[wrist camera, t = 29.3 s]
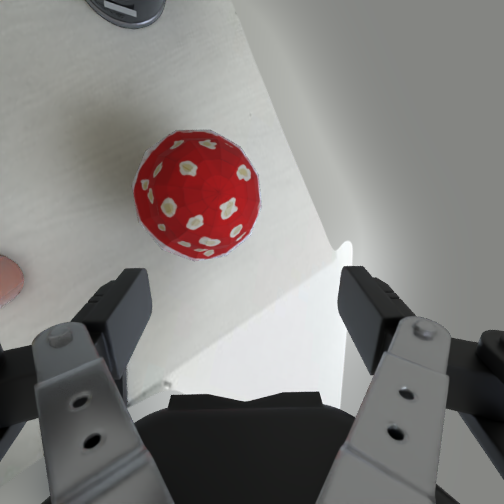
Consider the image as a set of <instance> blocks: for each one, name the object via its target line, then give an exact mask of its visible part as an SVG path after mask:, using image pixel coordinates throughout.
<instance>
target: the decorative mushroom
mask: <svg viewBox="0 0 504 504" xmlns="http://www.w3.org/2000/svg"><path fill="white" fill-rule="evenodd" d="M132 189H133V194H134V200H135V206H136V212H137V218H138V222H139V223H140V224H141V225H142V227H143V228H144V229H145V230H146V231H147V233H148V234H149V235H150V236H151V237H152V238H153V240H154V241H155V242H156V243H157V244H158V246H159V247H160V248H161V249H162V250H165V251H167V252H170V253H173V254H176V255H178V256H181V257H184V258H187V259H189V260H192V261H199V260H205V259H211V258H216V257H222V256H227V255H228V254H229V253H230V252H231V251H233V250H234V249H235V248H236V247H237V246H239V245H240V244H241V243H242V242H243V241H245V240H246V239H247V238H248V237H249V236H250V235H251V233H252V230H253V228H254V225H255V223H256V220H257V218H258V215H259V213H260V210H261V207H262V205H261V195H260V184H259V175H258V173H257V172H256V170H255V169H254V167H253V165H252V164H251V162H250V161H249V159H248V158H247V156H246V154H245V153H244V151H243V150H242V148H241V147H240V146H238V145H237V144H235V143H233V142H231V141H230V140H228V139H226V138H224V137H223V136H221V135H219V134H217V133H216V132H214V131H212V130H175V131H174V132H172V133H171V134H169V135H168V136H166V137H165V138H163V139H162V140H160V141H159V142H157V143H156V144H154V145H153V146H151V147H150V148H148V149H147V150H146V151H145V154H144V156H143V158H142V161H141V163H140V166H139V168H138V171H137V173H136V175H135V178H134V180H133V183H132Z"/></svg>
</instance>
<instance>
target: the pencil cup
mask: <svg viewBox="0 0 504 504" xmlns="http://www.w3.org/2000/svg"><path fill="white" fill-rule="evenodd" d="M23 283H24V277H23V273H22V271H21V269H20V267H19V266H18V265H17V264H16V263H15V262H14V261H12V260H11V259H9V258H7V257H5V256H2V255H0V308H1V307H3V306H4V305H6V304H7V303H8V302H10V301H11V300H12V299H14V298H15V297H16V296H17V295H18V294H19V293H20V291H21V289H22V287H23Z"/></svg>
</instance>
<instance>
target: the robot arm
mask: <svg viewBox="0 0 504 504" xmlns="http://www.w3.org/2000/svg"><path fill="white" fill-rule="evenodd" d="M86 1H87V2H88V4H89V5H90V6H91V7H92V8H93V9H94V10H95V11H96V12H97V13H98V14H99V15H100V16H102V17H103V18H104V19H106V20H107V21H109V22H111V23H113V24H115V25H118V26H121V27H124V28H131V29H136V28H143V27H146V26H148V25H150V24H152V23H153V22H155V21H156V20H157V19H158V18H159V16H160V15H161V13H162V11H163V9H164V6H165V1H166V0H86ZM338 311H339V314H340V316H341V318H342V320H343V322H344V324H345V326H346V328H347V330H348V332H349V334H350V335H351V338H352V340H353V342H354V343H355V346H356V348H357V350H358V352H359V353H360V355H361V357H362V359H363V361H364V363H365V365H366V367H367V369H368V371H369V373H370V375H374V376H373V378H372V381H371V383H370V385H369V388H368V390H367V392H366V395H365V397H364V399H363V402H362V404H361V406H360V408H359V411H358V413H357V416H356V418H355V417H353V416H352V415H350V414H348V413H346V412H344V411H342V410H340V409H337V408H335V407H332V406H328V405H324V404H322V400H321V397H320V393H319V392H283V393H279V394H275V395H271V396H267V397H263V398H259V399H256V400H252V401H246V402H244V401H238V400H234V399H229V398H224V397H219V396H214V395H210V394H192V395H171V398H170V402H169V405H168V408H165V409H162V410H159V411H156V412H154V413H152V414H149V415H147V416H145V417H143V418H142V419H140V420H138V421H137V422H135V423H134V422H133V420H132V418H131V416H130V414H129V412H128V410H127V407H126V405H125V403H124V401H123V399H122V397H121V395H120V392H119V390H118V388H117V386H116V384H115V382H114V380H120V379H121V376H122V374H123V372H124V370H125V368H126V366H127V364H128V362H129V360H130V358H131V356H132V354H133V352H134V350H135V347H136V345H137V343H138V341H139V339H140V337H141V335H142V333H143V331H144V329H145V327H146V325H147V323H148V321H149V318H150V316H151V313H152V298H151V292H150V286H149V280H148V274H147V271H146V269H145V268H126V269H124V270H123V272H122V273H121V274H120V275H119V276H118V278H117V279H116V280H113V281H110V282H108V283H107V284H105V285H103V286H102V287H100V288H99V289H98V291H97V292H96V293H95V294H94V296H93V297H91V299H90V300H89V301H88V303H86V304H85V305H84V307H83V308H82V309H81V310H80V311H79V312H78V313H77V315H76V316H75V317H74V318H73V319H72V320H71V321H70V322H66V323H61V324H58V325H55V326H52V327H50V328H48V329H46V330H44V331H43V332H41V333H40V334H39V335H37V336H36V338H35V339H34V340H33V342H32V345H29V346H25V347H20V348H15V349H11V350H6V351H3V349H2V347H1V344H0V461H1V460H2V458H3V457H4V455H5V454H6V452H7V451H8V449H9V448H10V446H11V445H12V443H13V442H14V440H15V439H16V437H17V436H18V434H19V433H20V431H21V430H22V428H23V427H24V425H25V423H26V422H27V421H29V420H33V419H36V418H39V424H40V430H41V437H42V444H43V450H44V457H45V463H46V470H47V477H48V483H49V490H50V496H49V497H48V498H47V499H46V500H45V501H44V502H43V503H42V504H460V503H459V502H457V501H456V500H455V499H454V498H453V497H451V496H450V495H449V494H448V493H447V492H445V491H444V490H443V489H442V488H441V487H439V486H438V485H437V484H436V479H437V471H438V463H439V456H440V448H441V440H442V432H443V425H444V417H445V409H451V410H455V411H458V413H459V414H460V416H461V417H462V419H463V420H464V422H465V423H466V425H467V426H468V428H469V429H470V431H471V432H472V434H473V435H474V437H475V438H476V439H477V441H478V442H479V444H480V445H481V447H482V448H483V450H484V451H485V453H486V454H487V456H488V457H489V458H490V460H491V461H492V463H493V465H494V466H495V468H496V469H497V470H498V472H499V473H500V475H501V476H502V478H503V479H504V331H499V330H488V331H485V332H483V333H482V335H481V337H480V340H479V342H478V343H477V342H471V341H466V340H461V339H455V338H451V335H450V333H449V332H448V331H447V329H446V328H444V327H443V326H442V325H440V324H438V323H437V322H435V321H432V320H430V319H427V318H423V317H417V316H416V315H415V314H414V313H413V312H412V311H411V310H410V309H409V308H408V307H407V305H406V304H405V303H404V302H403V301H402V300H401V299H399V297H398V295H397V294H396V293H394V291H393V290H392V289H391V288H390V287H389V285H388V284H386V283H385V282H383V281H381V280H380V279H378V278H373V277H372V276H371V275H370V274H369V272H367V270H366V269H365V268H364V267H363V266H344V267H343V268H342V272H341V278H340V286H339V293H338Z"/></svg>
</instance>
